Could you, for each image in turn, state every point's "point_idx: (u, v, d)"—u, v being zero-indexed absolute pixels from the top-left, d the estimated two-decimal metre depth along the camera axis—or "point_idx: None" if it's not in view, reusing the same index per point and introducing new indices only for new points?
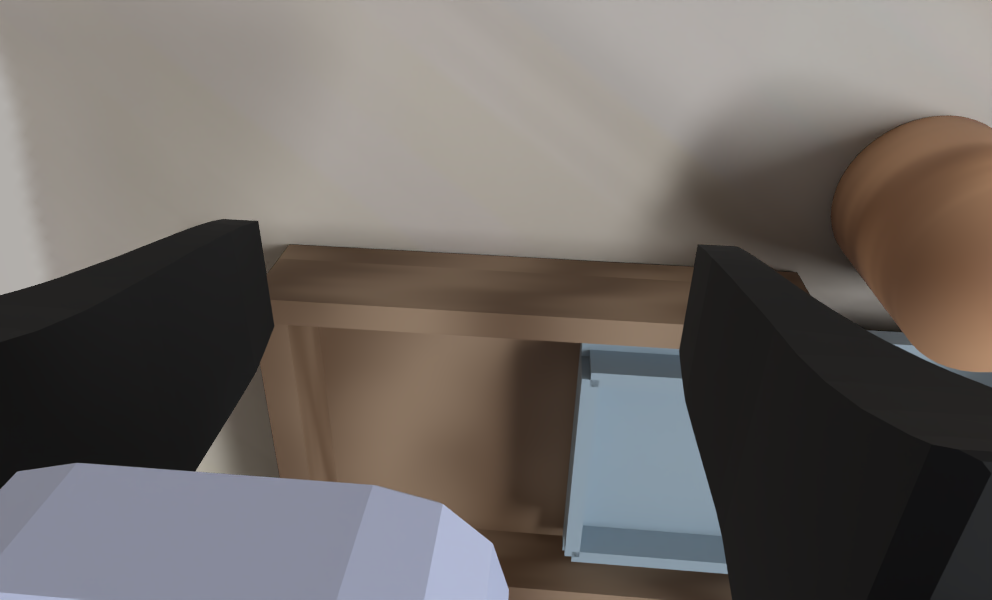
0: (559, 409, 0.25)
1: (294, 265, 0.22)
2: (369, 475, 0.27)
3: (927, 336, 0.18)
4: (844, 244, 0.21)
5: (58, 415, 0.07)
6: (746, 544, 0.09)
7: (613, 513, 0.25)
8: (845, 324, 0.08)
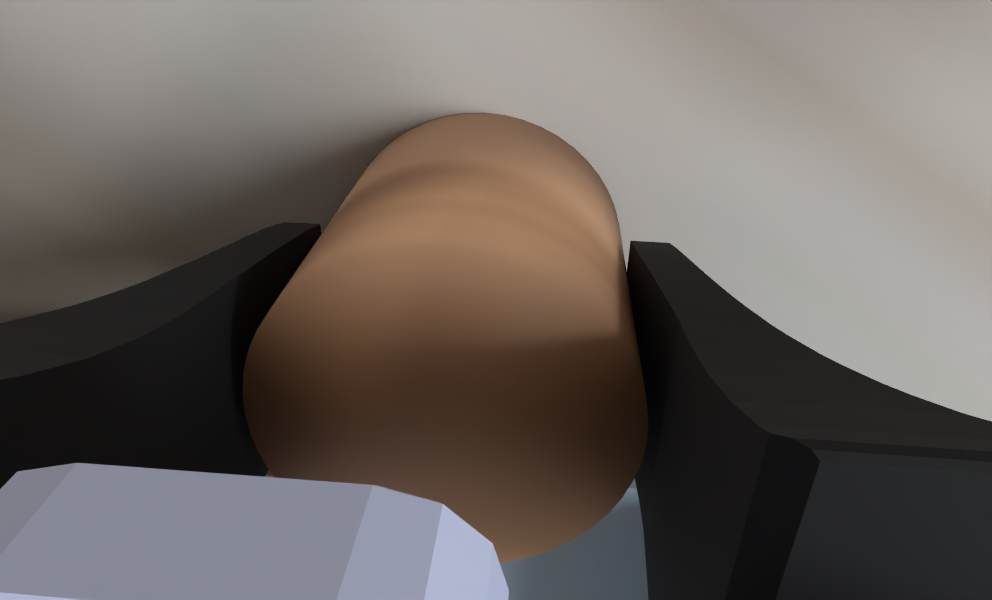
0: None
1: None
2: None
3: None
4: None
5: (155, 422, 0.07)
6: (657, 537, 0.09)
7: None
8: (751, 318, 0.08)
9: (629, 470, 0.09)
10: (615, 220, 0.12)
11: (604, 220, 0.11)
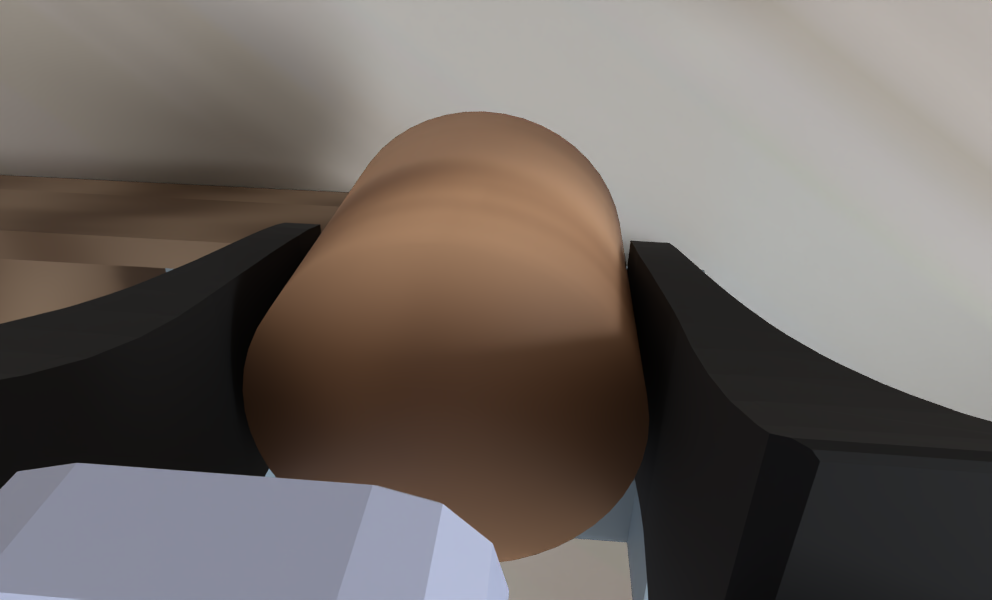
0: None
1: None
2: None
3: None
4: None
5: (155, 422, 0.07)
6: (657, 537, 0.09)
7: None
8: (752, 318, 0.08)
9: (630, 469, 0.09)
10: (615, 219, 0.12)
11: (605, 218, 0.11)
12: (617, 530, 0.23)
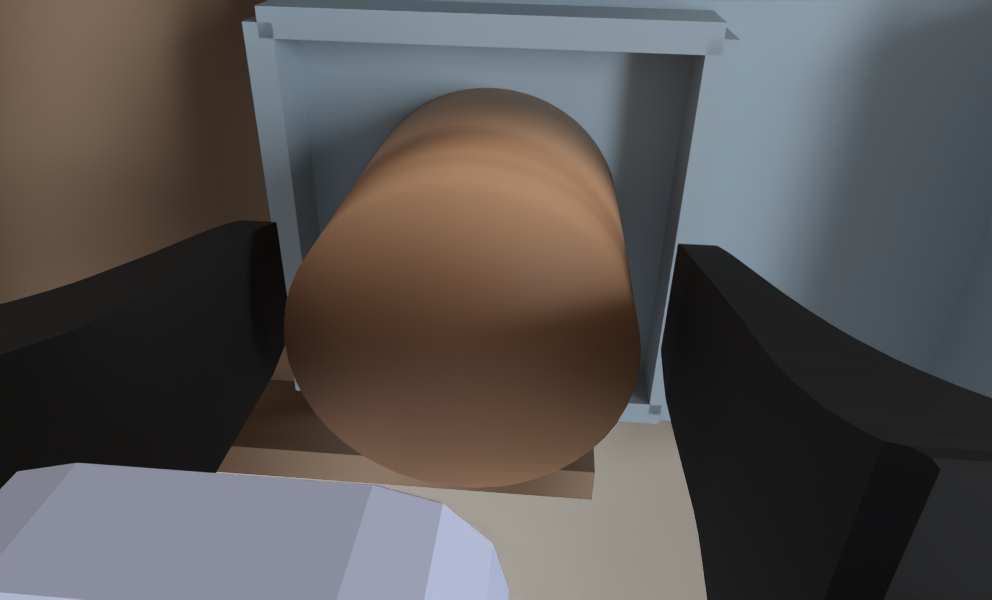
0: None
1: None
2: (25, 284, 0.18)
3: (365, 433, 0.11)
4: None
5: (87, 417, 0.07)
6: (720, 542, 0.09)
7: None
8: (817, 322, 0.08)
9: (623, 397, 0.10)
10: (613, 186, 0.13)
11: (603, 183, 0.12)
12: None
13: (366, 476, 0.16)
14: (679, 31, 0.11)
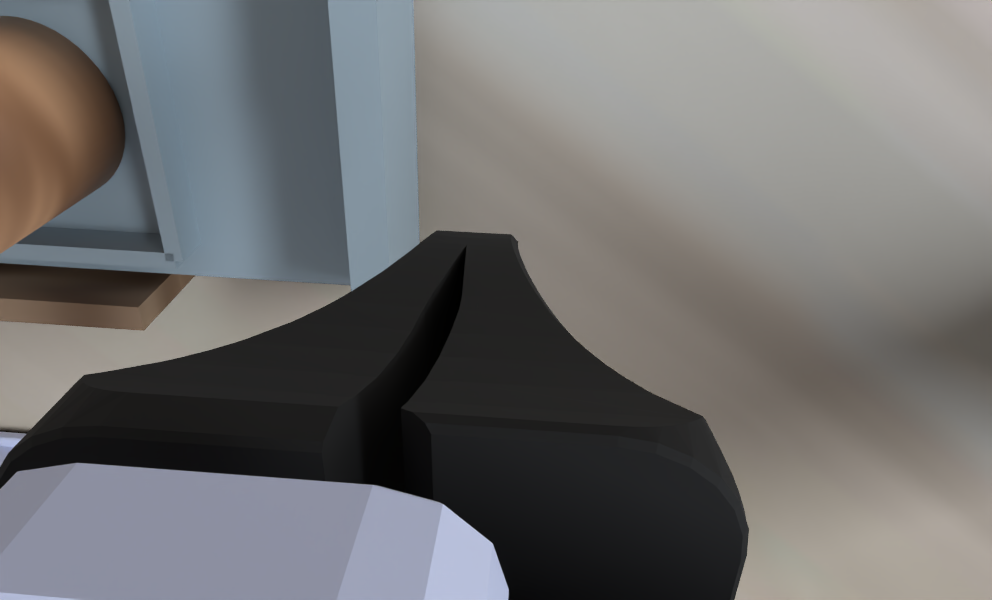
0: None
1: None
2: None
3: None
4: None
5: (399, 439, 0.07)
6: None
7: None
8: (534, 306, 0.08)
9: None
10: (87, 83, 0.19)
11: (44, 74, 0.18)
12: None
13: None
14: None
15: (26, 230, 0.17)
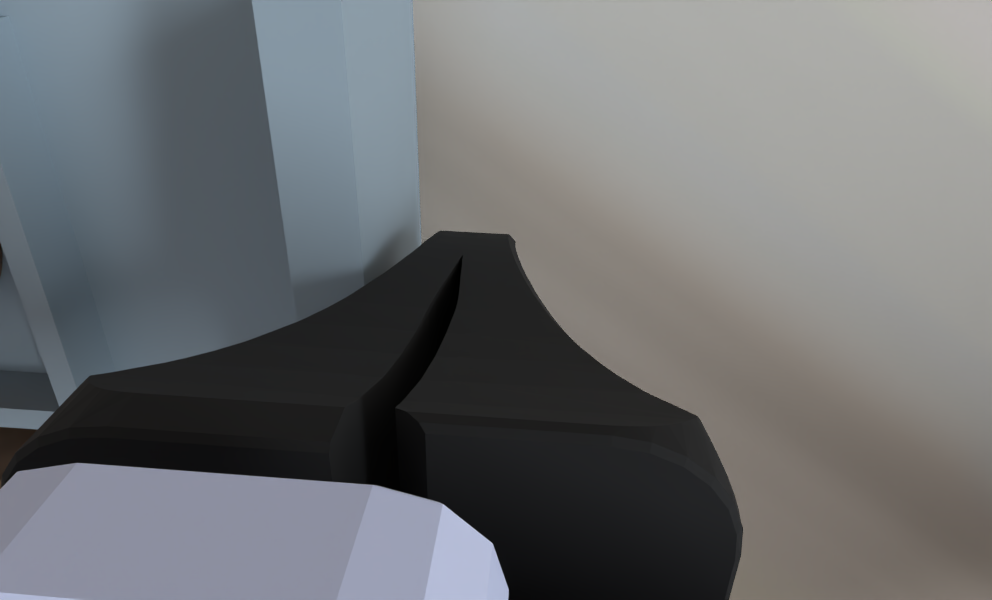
0: None
1: None
2: None
3: None
4: None
5: None
6: None
7: None
8: (531, 305, 0.08)
9: None
10: None
11: None
12: None
13: None
14: None
15: None
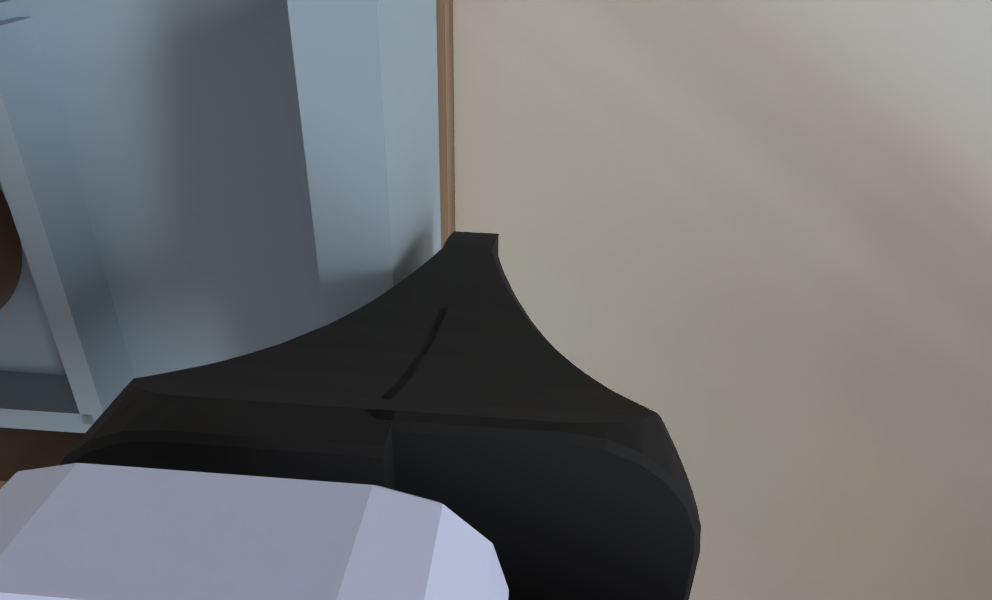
0: None
1: None
2: None
3: None
4: None
5: None
6: None
7: None
8: (506, 304, 0.08)
9: None
10: None
11: None
12: None
13: None
14: None
15: None
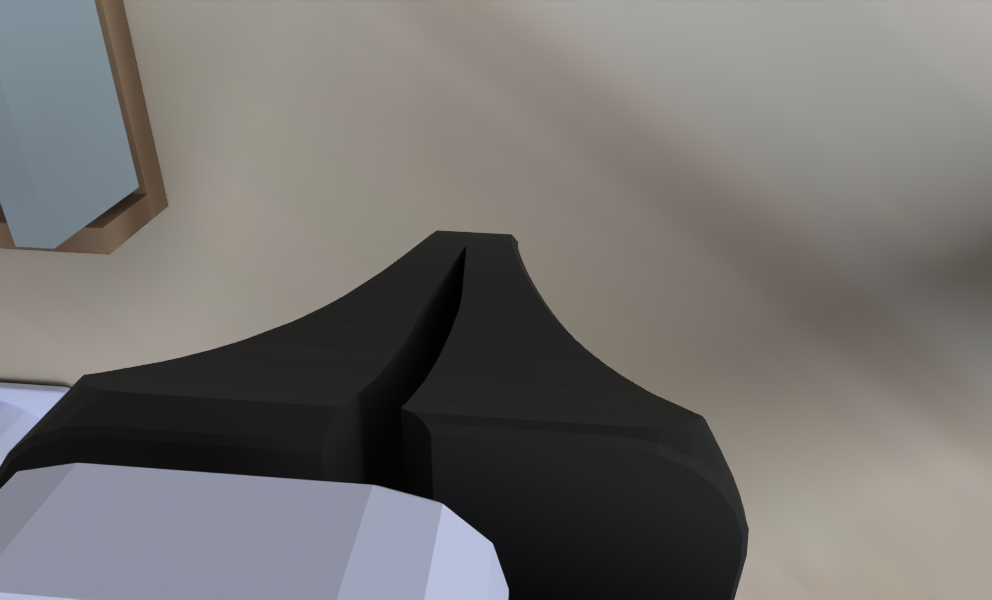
0: None
1: None
2: None
3: None
4: None
5: (398, 439, 0.07)
6: None
7: None
8: (534, 305, 0.08)
9: None
10: None
11: None
12: None
13: None
14: None
15: None
